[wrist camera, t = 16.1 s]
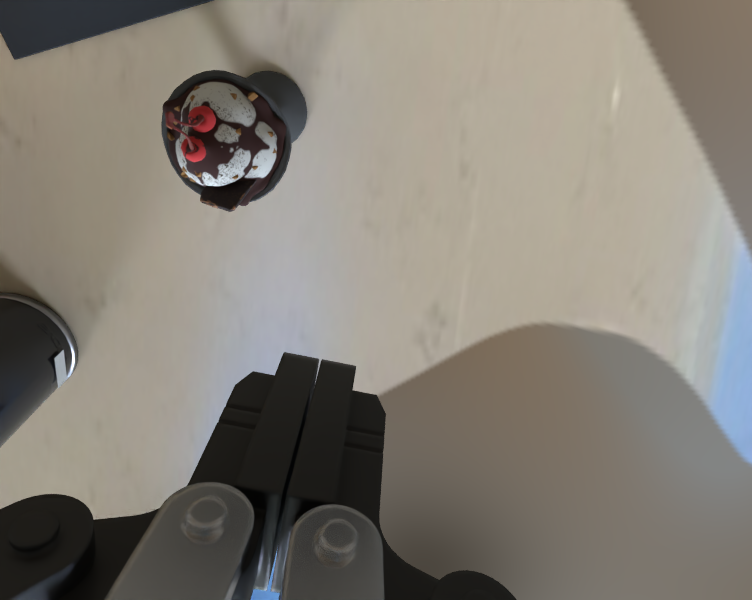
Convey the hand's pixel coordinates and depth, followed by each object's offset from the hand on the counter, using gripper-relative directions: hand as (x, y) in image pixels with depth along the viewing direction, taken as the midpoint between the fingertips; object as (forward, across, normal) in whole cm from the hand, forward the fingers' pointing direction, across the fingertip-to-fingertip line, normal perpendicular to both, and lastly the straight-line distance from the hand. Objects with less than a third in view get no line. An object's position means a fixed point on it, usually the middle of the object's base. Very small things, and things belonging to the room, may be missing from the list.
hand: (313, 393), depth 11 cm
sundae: (+29, +8, 0) cm, 30 cm away
